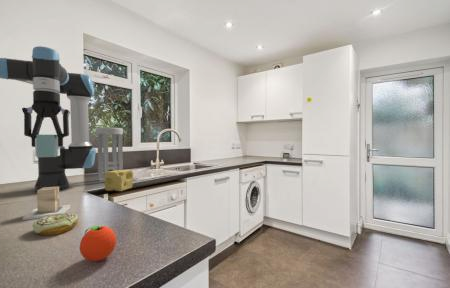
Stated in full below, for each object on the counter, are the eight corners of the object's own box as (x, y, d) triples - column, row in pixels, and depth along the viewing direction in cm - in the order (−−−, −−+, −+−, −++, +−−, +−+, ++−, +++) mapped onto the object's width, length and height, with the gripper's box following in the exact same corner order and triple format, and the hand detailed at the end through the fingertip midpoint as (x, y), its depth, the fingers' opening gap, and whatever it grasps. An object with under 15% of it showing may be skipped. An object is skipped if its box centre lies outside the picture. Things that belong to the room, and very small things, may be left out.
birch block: (42, 209, 80) (42, 187, 80) (59, 207, 82) (59, 186, 82) (37, 213, 76) (37, 190, 76) (55, 211, 78) (54, 189, 78)
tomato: (68, 263, 46) (67, 229, 46) (98, 248, 52) (97, 218, 52) (95, 271, 43) (95, 235, 43) (123, 253, 49) (123, 222, 49)
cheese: (121, 191, 112) (121, 172, 112) (103, 190, 114) (103, 171, 114) (133, 187, 122) (133, 169, 122) (117, 186, 125) (116, 169, 124)
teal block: (42, 156, 80) (41, 135, 80) (58, 156, 82) (58, 135, 82) (37, 157, 76) (36, 134, 75) (54, 156, 78) (54, 134, 77)
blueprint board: (35, 210, 82) (35, 208, 81) (70, 206, 86) (70, 204, 86) (22, 220, 71) (22, 217, 71) (63, 215, 76) (63, 212, 76)
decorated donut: (29, 241, 57) (29, 227, 56) (36, 228, 65) (35, 215, 65) (78, 231, 62) (77, 218, 62) (77, 220, 71) (77, 209, 71)
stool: (127, 180, 146) (126, 128, 145) (102, 183, 134) (101, 127, 134) (117, 177, 156) (116, 129, 155) (93, 180, 144) (92, 128, 144)
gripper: (8, 87, 71) (10, 157, 71) (74, 91, 79) (75, 155, 79) (19, 92, 78) (20, 156, 78) (78, 95, 86) (79, 154, 86)
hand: (48, 155), depth 79 cm, fingers closed on teal block, 5 cm apart
